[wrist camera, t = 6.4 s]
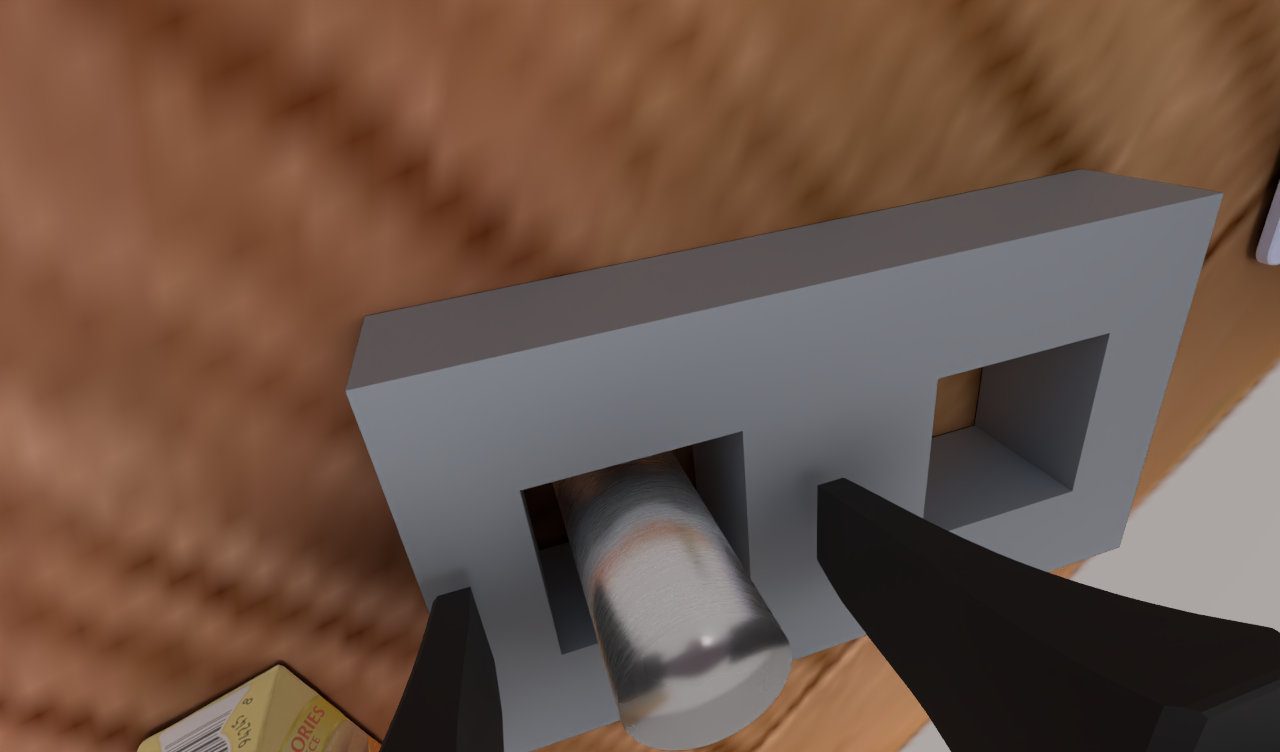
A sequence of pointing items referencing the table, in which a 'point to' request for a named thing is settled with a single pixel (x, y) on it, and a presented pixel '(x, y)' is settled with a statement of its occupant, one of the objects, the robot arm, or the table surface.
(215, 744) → the candy box
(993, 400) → the hole block
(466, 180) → the table surface
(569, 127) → the table surface
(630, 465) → the metal peg
